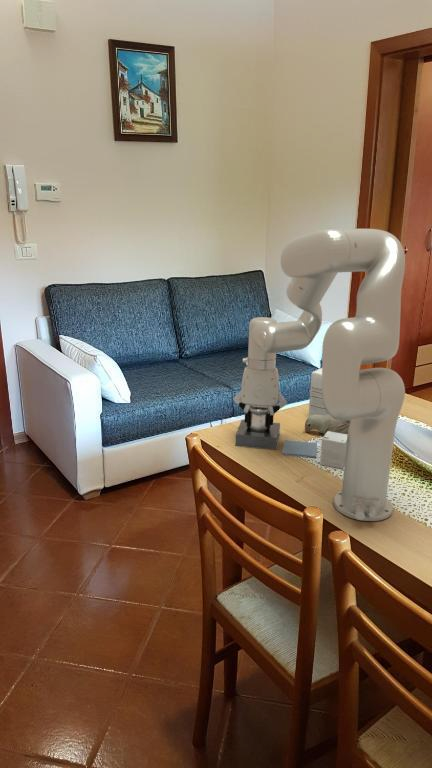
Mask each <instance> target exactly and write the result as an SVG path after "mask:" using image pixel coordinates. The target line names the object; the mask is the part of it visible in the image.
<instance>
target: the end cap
mask: <svg viewBox="0 0 432 768" xmlns="http://www.w3.org/2000/svg"><path fill="white" fill-rule="evenodd" d="M249 411H250V431H249V432H256V433H267V421H268V413H269V409H268V406H259V405H250V408H249Z"/></svg>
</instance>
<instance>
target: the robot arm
mask: <svg viewBox="0 0 432 768" xmlns="http://www.w3.org/2000/svg"><path fill="white" fill-rule="evenodd" d="M280 267H281V270H282V272H283V273H284V275H286V276H287V277H289V278H291V280H290V281H289V283H288V285H287V287H286V296H287V299H288V300H289V301H290V303H291V304H292V305H294V306H296V307H297V308H298V309H300V310H302V313H301V314H300V316H299V317H298V319H297V320H293V321H292V320H291V321H290V320H289V321H281V322H280V321H279V322H277V320H276V319H275V318H272V317H265V316H260V317H259V316H258V317H253V318H252V319H250V321H249V325H248V326H249V327H248V348H247V349H248V351H247V357H242V363H243V364H246V367H244V369H243V375H242V379H241V380H242V381H241V390H240V391H238V393H237V394H236V395H235V396H234V397H233V398H232V399H233V402H234V403H236V404H237V405H238V407H239V408H240V409H241V410H242V411H243V413H244V420H245V423H247V427H249V425H250V411H249V408H250V405H259V406H268V409H269V413H268V421H267V428H268V429H270V426H271V425H273V423H274V415H275V414H276V413H277V412H279V411H280V410H281V409H283V408H284V407H285V406H287V404H288V402H287V400H286V399H285V397H284V396H283V395H282V393H281V392H280V380H279V379H280V378H279V370H278V368H277V367H276V363H277V362H276V361H277V353H284V352H289V351H299V350H303V349H305V348H307V347H308V346H309V345H310V344H312V342H313V340H314V339H315V337H316V336H317V334H318V333H319V331H320V329H321V327H322V321H323V310H322V306H321V304H320V303H321V301H322V300H323V298H324V296H325V295H326V293H327V291H328V290H329V288H330V286H331V285H332V283H333V281H334V280H335V278H336V276H337V275H338V273H355V272H364V273H366V275H365V276H364V278H362V280H361V283H360V285H359V288H358V291H357V293H356V311H355V315H354V316H353V317H345V318H341V319H337V320H336V321H334V322H332V323H331V324H330V325H329V327H328V328H327V329H326V331H325V334H324V337H323V341H322V352H321V353H322V354H321V357H322V359H321V360H322V361H321V363H322V364H321V365H322V366H321V368H322V398H323V403H324V407H325V409H326V411H327V413H328V414H329V415H330V416H331V417H332V418H334V419H336V420H339V421H347V420H351V422H350V425H349V429H348V434H347V444H346V454H345V464H344V468H343V475H342V476H343V477H342V485H341V491H338V492H337V493H336V494H335V495H334V496H333V507H335V509H336V510H337V511H338V512H339V513H341V514H342V515H344V516H346V517H348V518H351V519H354V520H358V521H362V522H363V521H364V522H379V521H382V520H383V521H384V520H385V519H387V518H389V517H391V515H392V513H393V509H394V508H393V507H394V506H393V504H392V502H391V501H390V499H388V498H387V495H388V489H389V488H388V486H389V479H390V471H391V463H392V457H393V456H392V455H393V451H392V449H393V445H394V441H395V434H396V428H397V423H398V419H399V416H400V414H401V410H402V408H403V404H404V400H405V395H406V388H405V384H404V381H403V378H402V377H401V376H400V375H399V374H398V372H397V371H395V370H393V369H392V368H391V369H390V368H388V367H387V368H385V367H373V368H365V369H361V366H364V365H368V364H369V365H370V364H376V363H381V362H385V361H389V360H391V359H392V358H394V357H395V356H396V355H397V353H398V350H399V346H400V333H401V331H400V330H401V308H402V307H401V306H402V300H401V299H402V288H403V281H404V277H405V268H406V255H405V250H404V247H403V245H402V243H401V242H400V240H399V239H398V238H397V236H395V235H394V234H392V233H390V232H389V231H385V230H382V229H376V228H331V229H330V228H329V229H328V228H327V229H321V230H318V231H315V232H311V233H308V234H305V235H302V236H297V237H294V238H293V239H290V240H289V241H288V242H287V243H286V244H285V246H284V247H283V250H282V251H281V254H280ZM278 402H279V403H278ZM393 450H394V449H393Z"/></svg>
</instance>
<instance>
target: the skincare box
mask: <svg viewBox="0 0 432 768" xmlns="http://www.w3.org/2000/svg"><path fill="white" fill-rule="evenodd" d="M347 435H348V434H341V433H336V432H330V431H327V433H326V434H323V437H322V438H321V445H320V447H321V448H320V461H319V462H320V463H319V464H320V466H321V465H322V466H327V467H332V468H335V469H342V470H344V464H345V454H346V444H347Z"/></svg>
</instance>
